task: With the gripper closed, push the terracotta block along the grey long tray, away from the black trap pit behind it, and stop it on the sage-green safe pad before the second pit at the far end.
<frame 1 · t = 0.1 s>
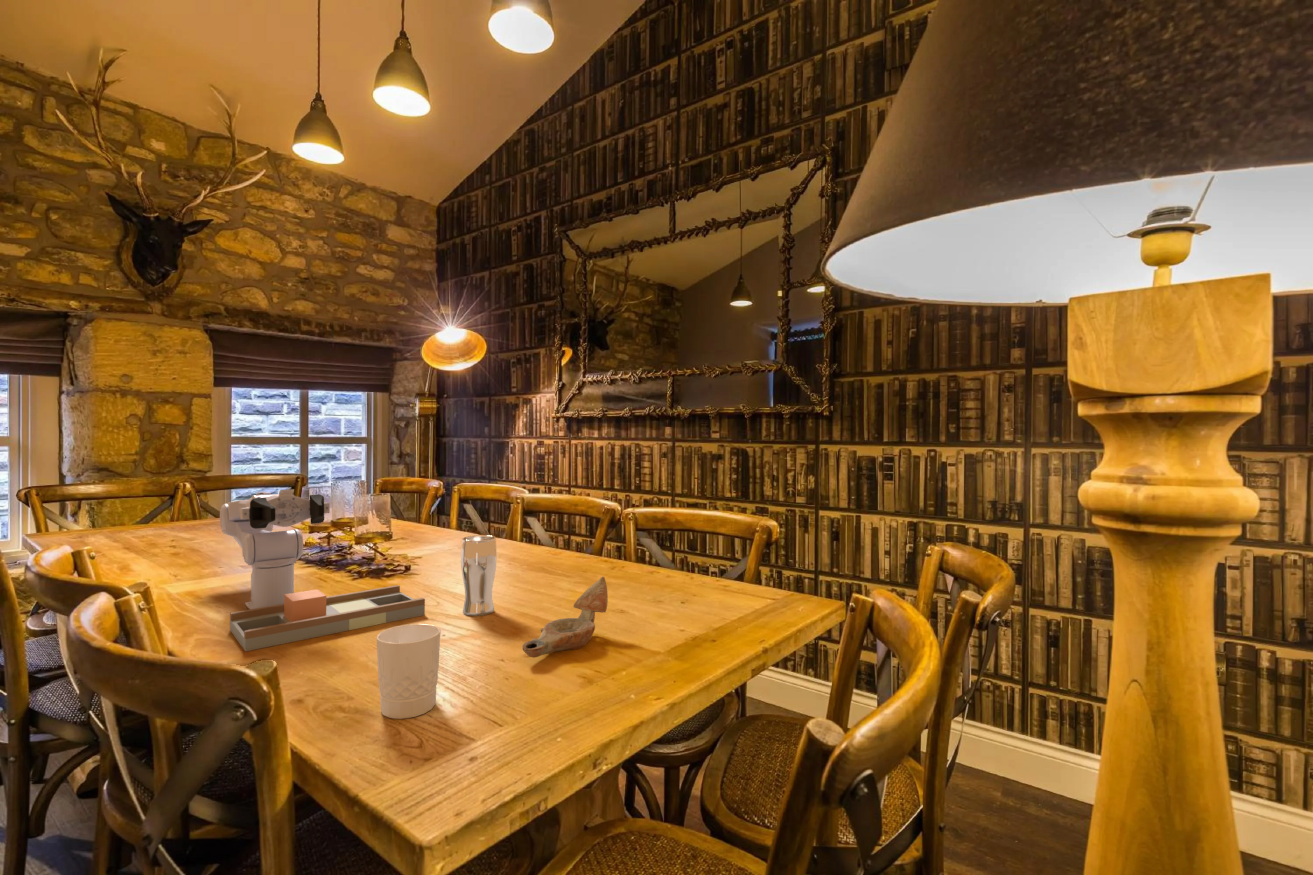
hand: (297, 512, 111), 22 cm above the table, tool horizontal, fingers open, 7 cm apart
white cup: (408, 708, 82), on the table
beer glass: (478, 612, 124), on the table
grey long tray: (331, 622, 116), on the table
block: (305, 616, 113), point 2 cm above the table, touching grey long tray
oil lamp: (566, 647, 105), on the table
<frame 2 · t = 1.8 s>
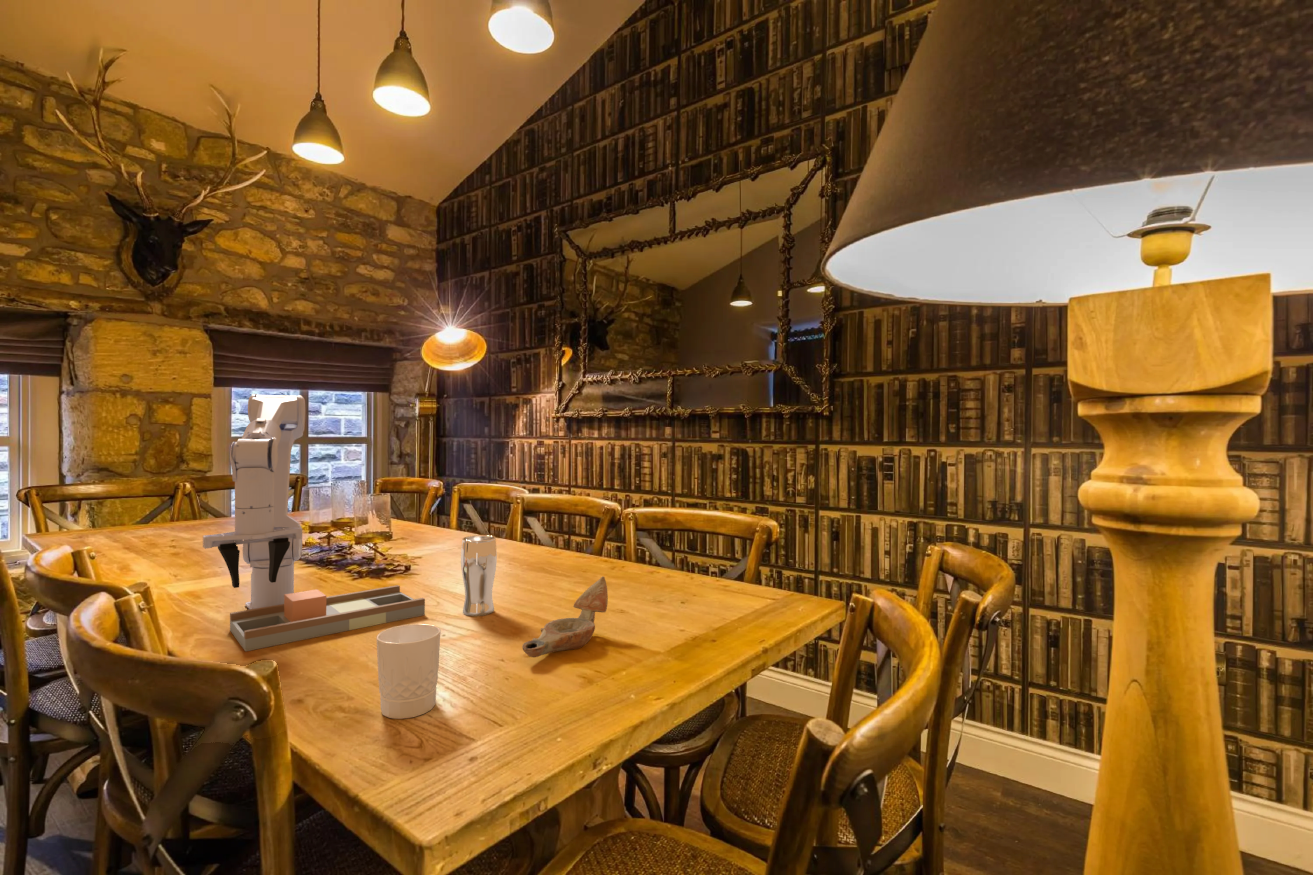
hand: (254, 583, 108), 9 cm above the table, tool pointing down, fingers open, 5 cm apart
nothing on the table moved.
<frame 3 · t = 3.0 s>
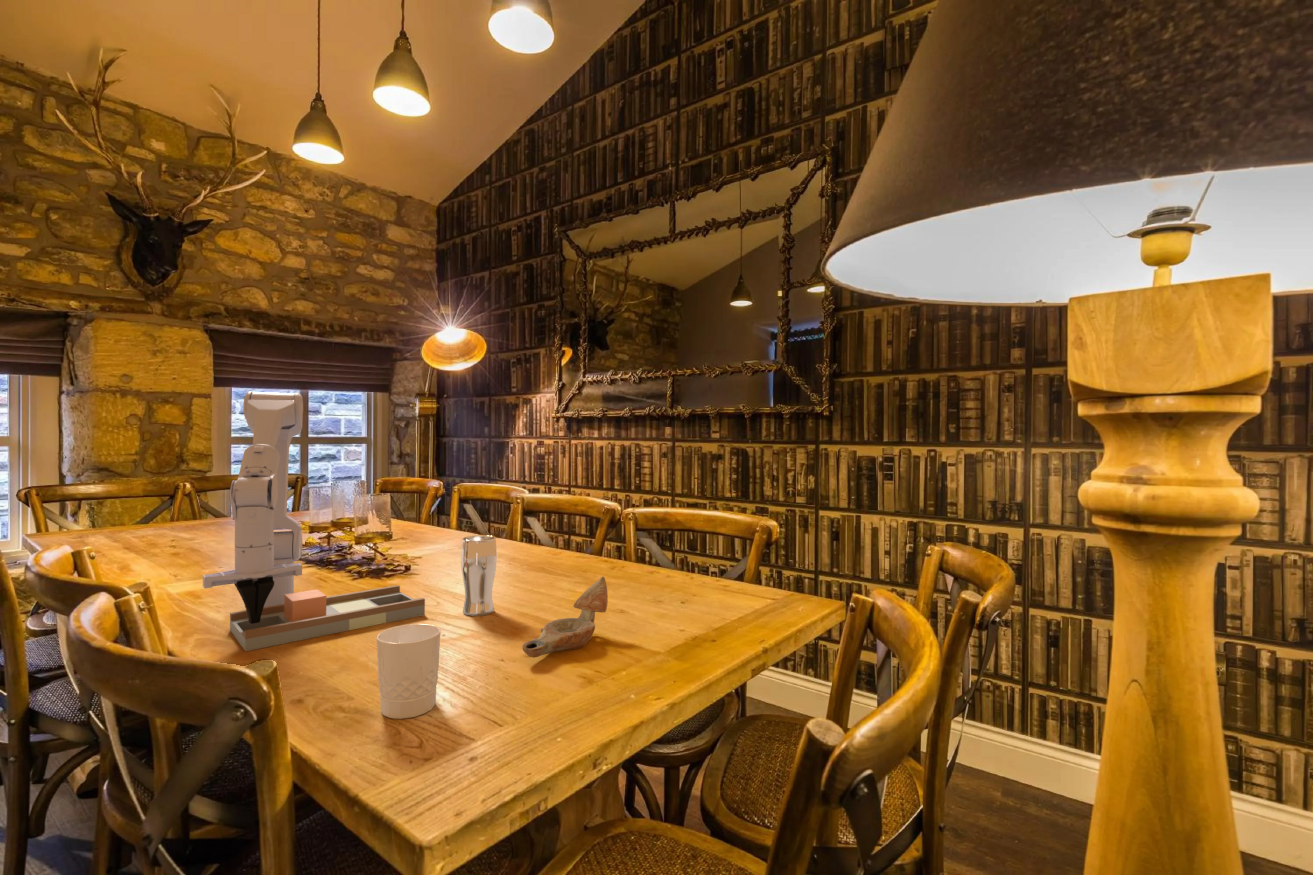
hand: (254, 621, 108), 3 cm above the table, tool pointing down, fingers closed
nothing on the table moved.
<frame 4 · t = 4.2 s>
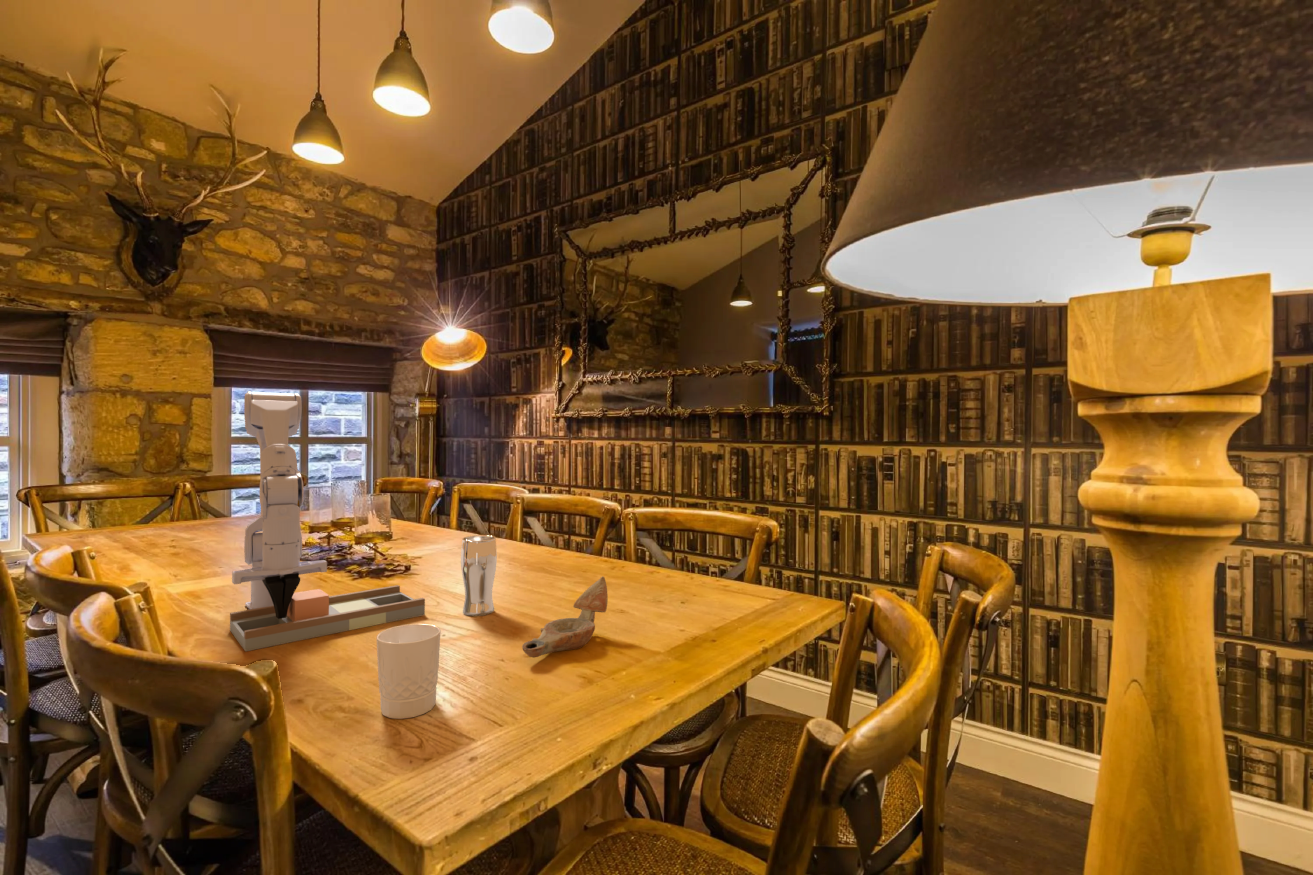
hand: (281, 616, 110), 3 cm above the table, tool pointing down, fingers closed
block: (307, 616, 113), point 2 cm above the table, touching gripper
everything else where it was.
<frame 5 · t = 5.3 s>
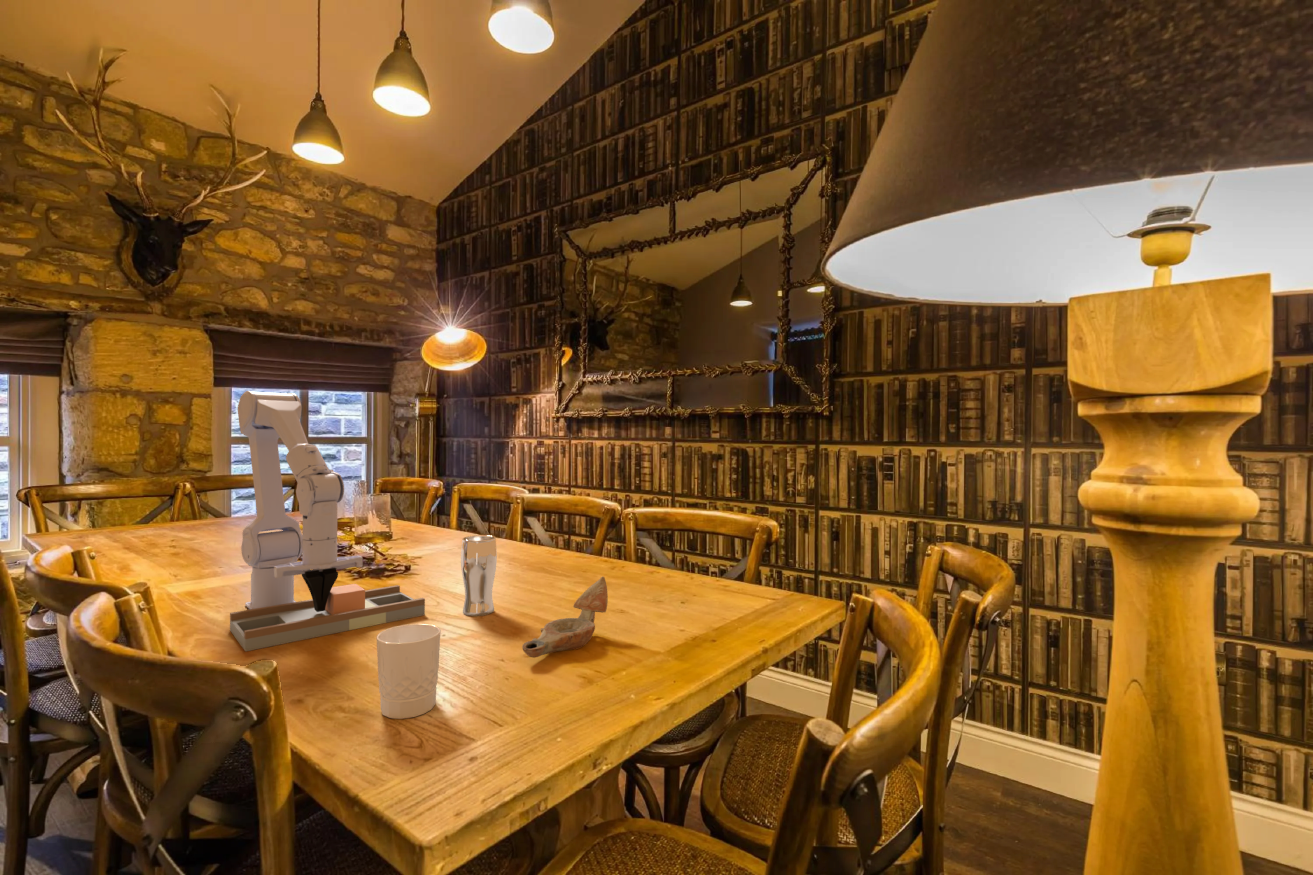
hand: (319, 610, 115), 3 cm above the table, tool pointing down, fingers closed
block: (344, 609, 118), point 2 cm above the table, touching gripper, grey long tray
everything else where it was.
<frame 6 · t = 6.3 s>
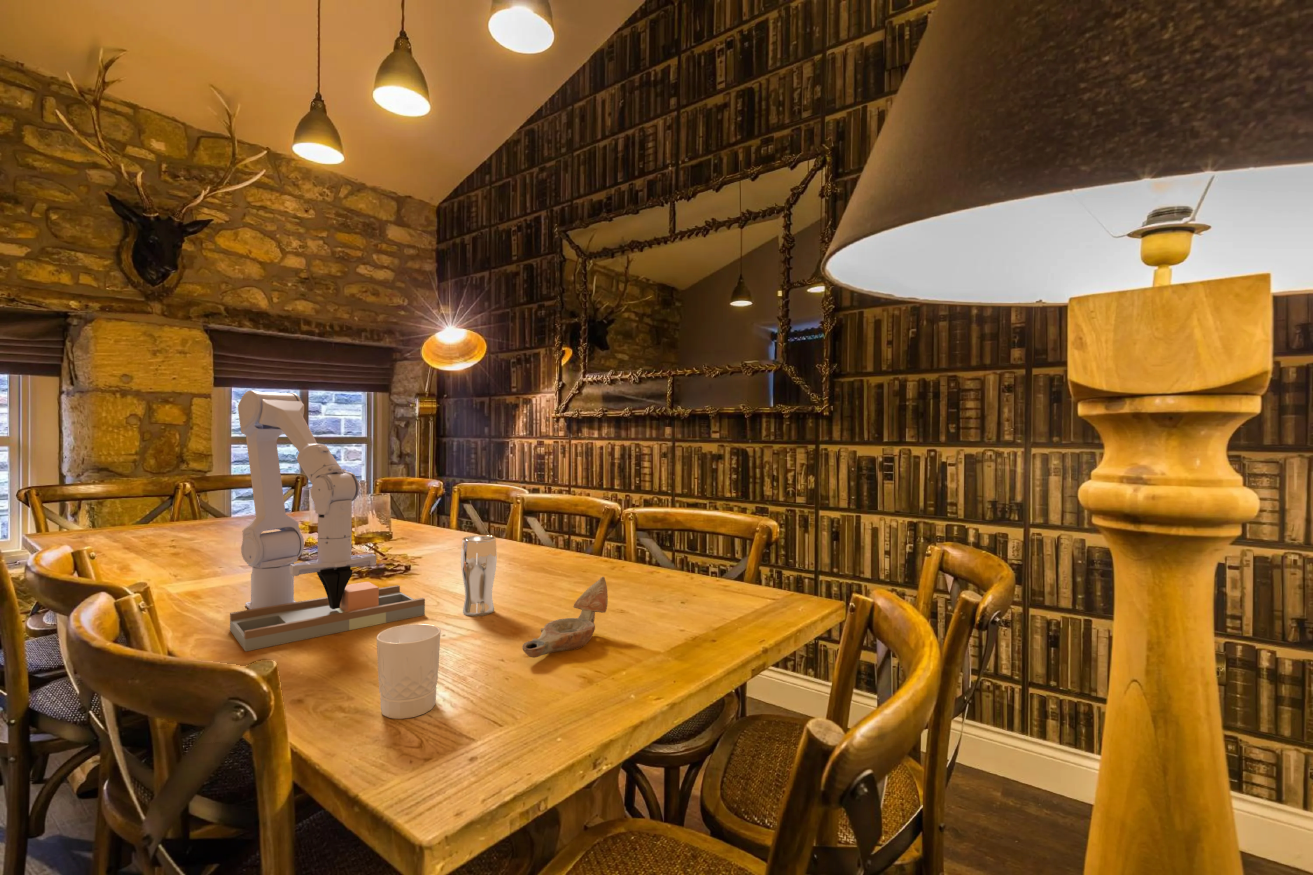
hand: (334, 607, 117), 3 cm above the table, tool pointing down, fingers closed
block: (358, 607, 119), point 2 cm above the table, touching gripper, grey long tray
everything else where it was.
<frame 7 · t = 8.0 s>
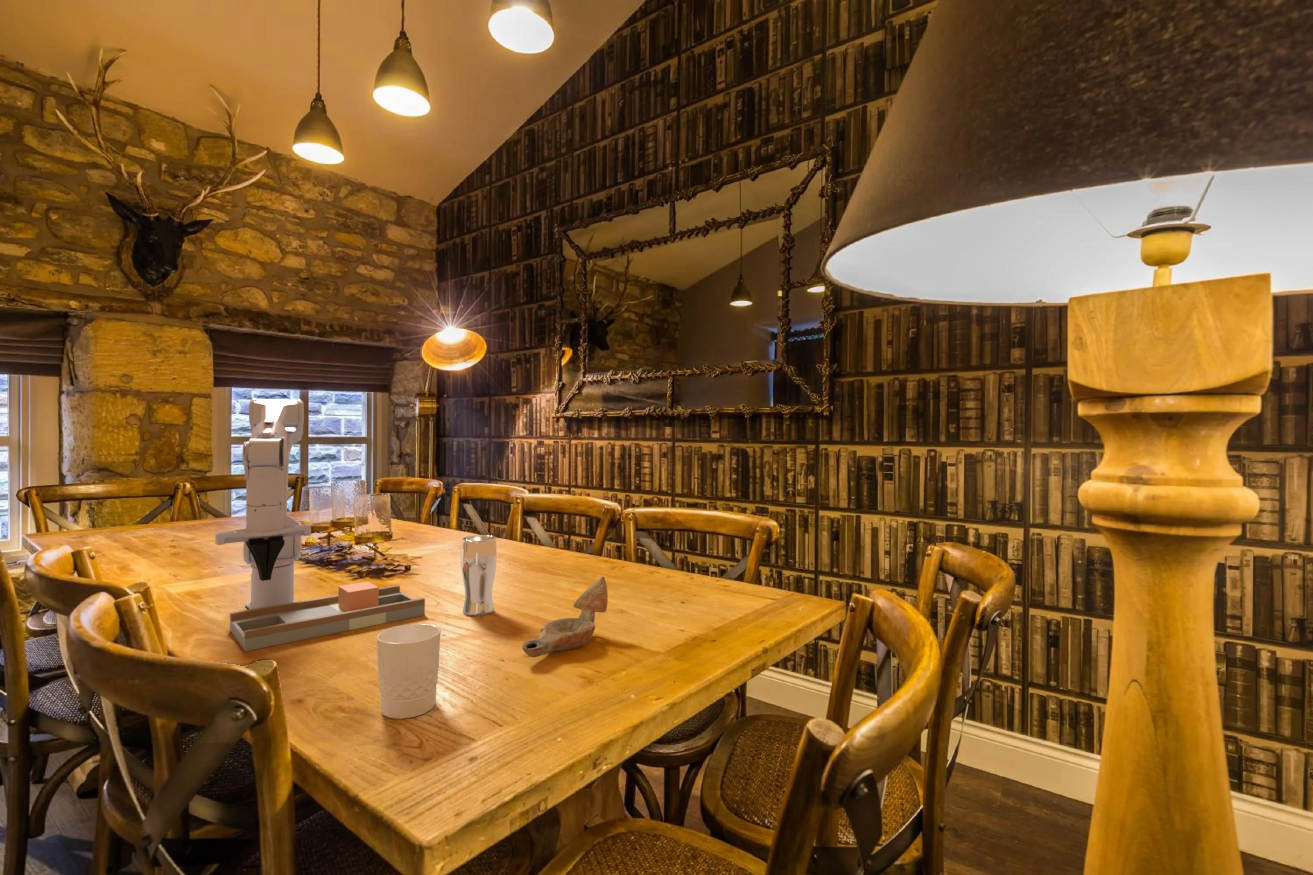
hand: (265, 579, 111), 9 cm above the table, tool pointing down, fingers closed
block: (358, 607, 119), point 2 cm above the table, touching grey long tray
everything else where it was.
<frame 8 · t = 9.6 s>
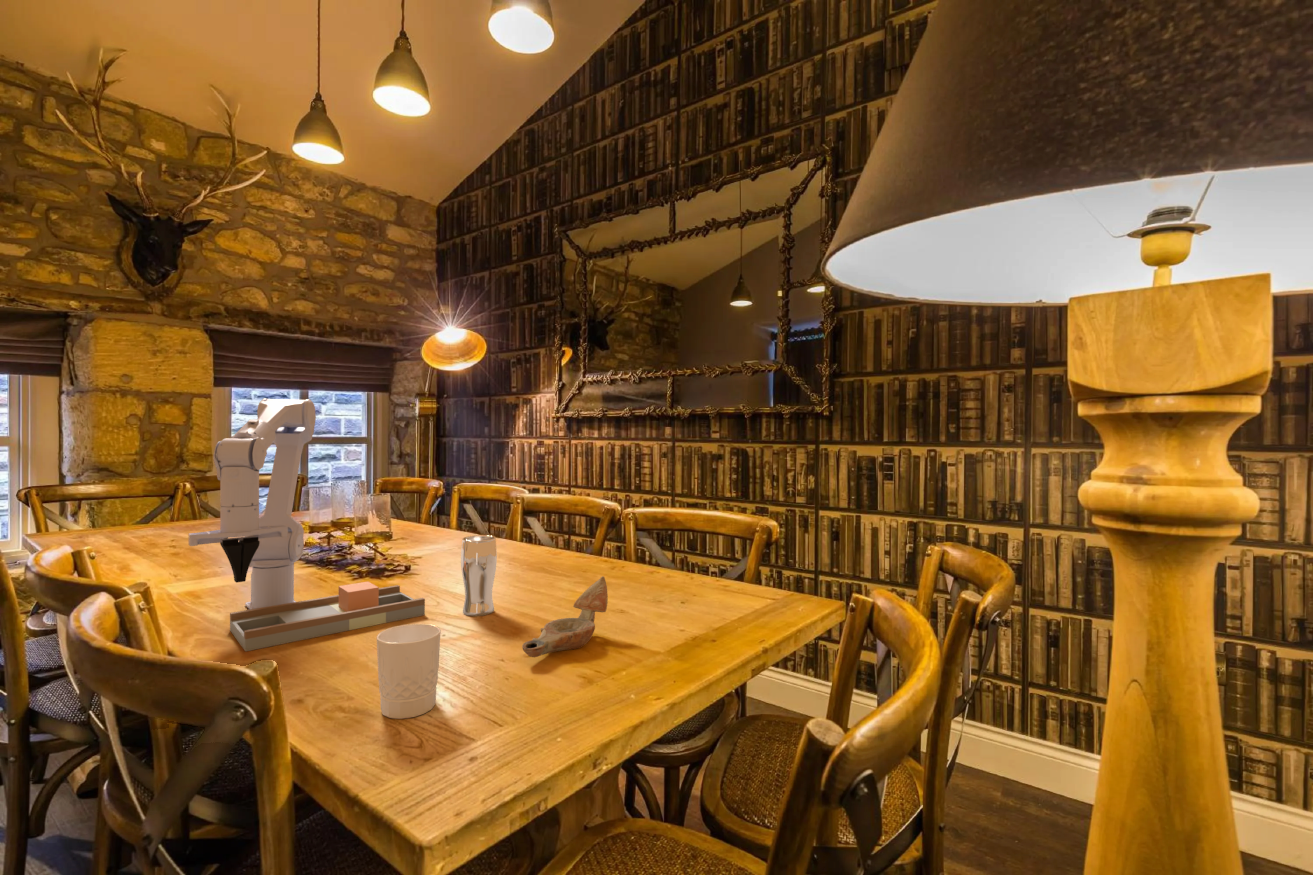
hand: (239, 580, 109), 9 cm above the table, tool pointing down, fingers closed
nothing on the table moved.
at the end: block inside the target area on the grey long tray (0.5 cm from its centre), point 2.0 cm above the grey long tray's base; block tilted 0°; block moved 9.2 cm from its start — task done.
